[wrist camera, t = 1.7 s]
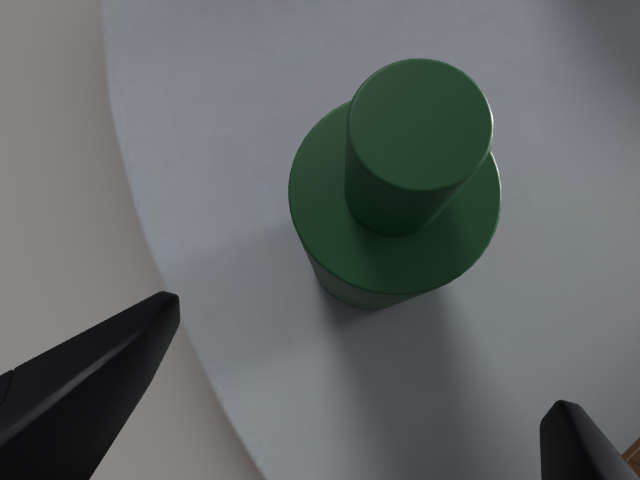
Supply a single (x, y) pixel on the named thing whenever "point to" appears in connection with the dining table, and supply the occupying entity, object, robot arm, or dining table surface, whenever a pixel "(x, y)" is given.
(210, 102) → the dining table surface
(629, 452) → the tray
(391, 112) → the green bottle
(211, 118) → the dining table surface
